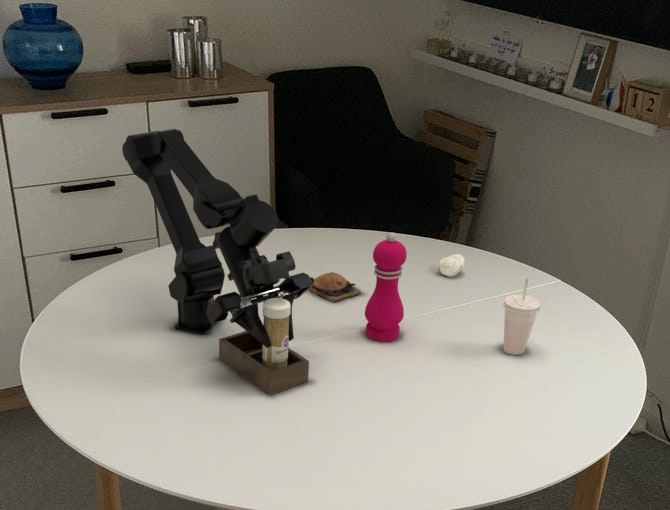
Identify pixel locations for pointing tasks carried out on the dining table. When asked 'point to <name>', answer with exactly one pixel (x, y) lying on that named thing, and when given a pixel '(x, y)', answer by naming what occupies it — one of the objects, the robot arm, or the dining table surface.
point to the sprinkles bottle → (276, 332)
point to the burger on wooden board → (333, 287)
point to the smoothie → (519, 320)
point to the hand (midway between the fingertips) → (280, 343)
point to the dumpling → (451, 265)
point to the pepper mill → (386, 291)
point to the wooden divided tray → (261, 364)
